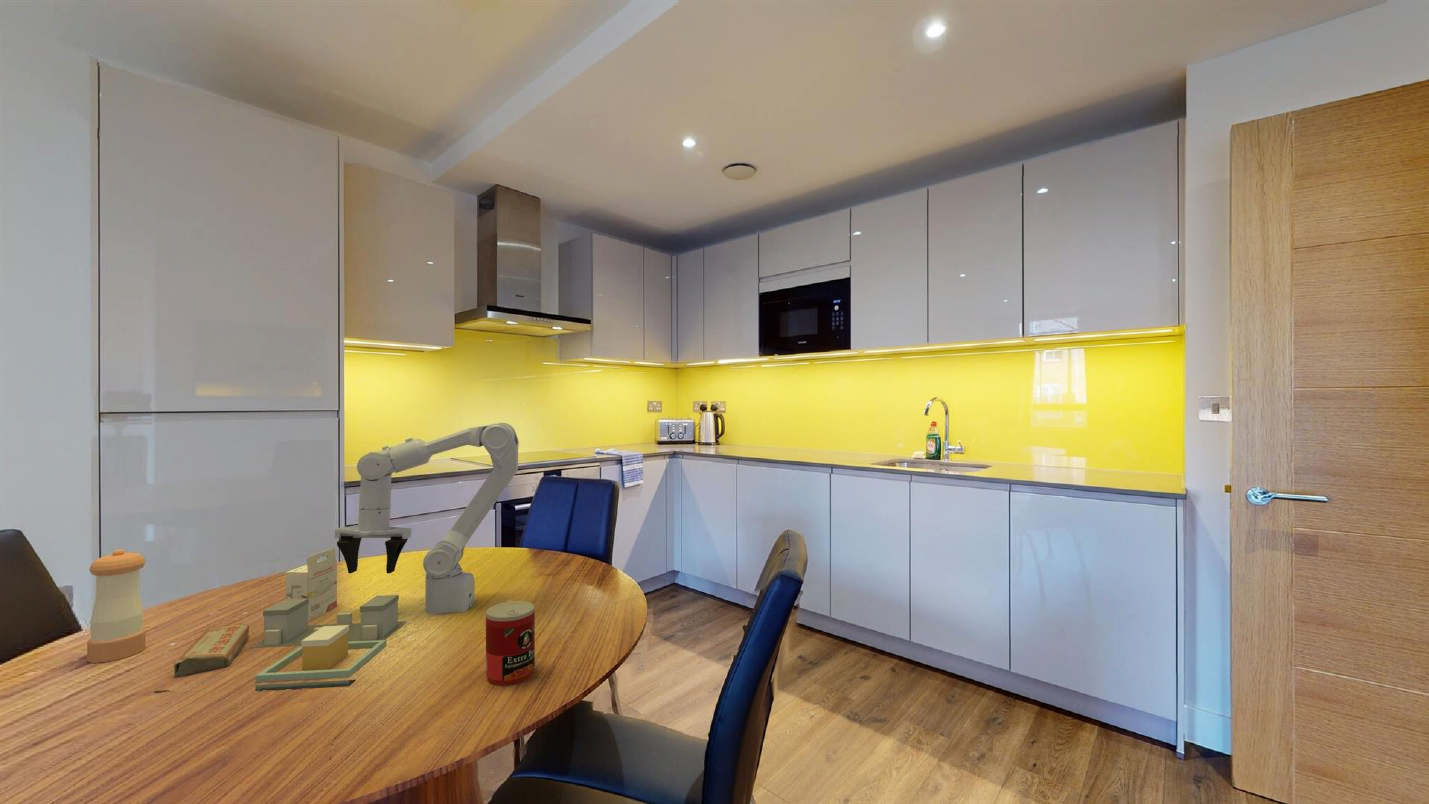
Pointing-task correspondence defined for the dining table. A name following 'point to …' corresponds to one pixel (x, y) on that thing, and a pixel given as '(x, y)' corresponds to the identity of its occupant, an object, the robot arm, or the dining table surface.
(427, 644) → the dining table surface
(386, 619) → the block
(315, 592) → the ink cartridge box
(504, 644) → the canned food
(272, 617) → the block
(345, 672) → the parts tray
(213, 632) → the packaged product
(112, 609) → the pepper shaker
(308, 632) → the block
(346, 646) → the block
